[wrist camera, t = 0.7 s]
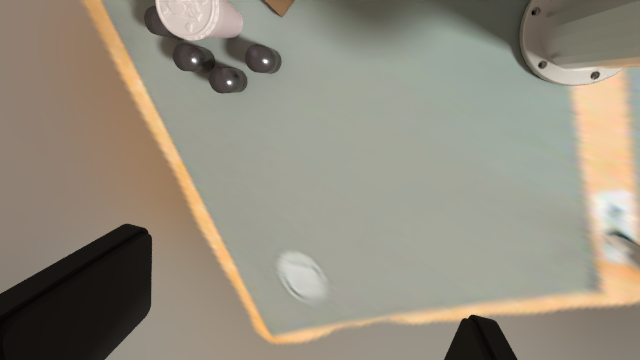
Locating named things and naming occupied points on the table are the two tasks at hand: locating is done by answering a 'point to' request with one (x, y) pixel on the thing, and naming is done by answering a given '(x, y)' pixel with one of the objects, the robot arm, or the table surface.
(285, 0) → the walnut pad
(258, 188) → the table surface
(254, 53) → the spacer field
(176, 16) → the smoothie
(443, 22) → the table surface
